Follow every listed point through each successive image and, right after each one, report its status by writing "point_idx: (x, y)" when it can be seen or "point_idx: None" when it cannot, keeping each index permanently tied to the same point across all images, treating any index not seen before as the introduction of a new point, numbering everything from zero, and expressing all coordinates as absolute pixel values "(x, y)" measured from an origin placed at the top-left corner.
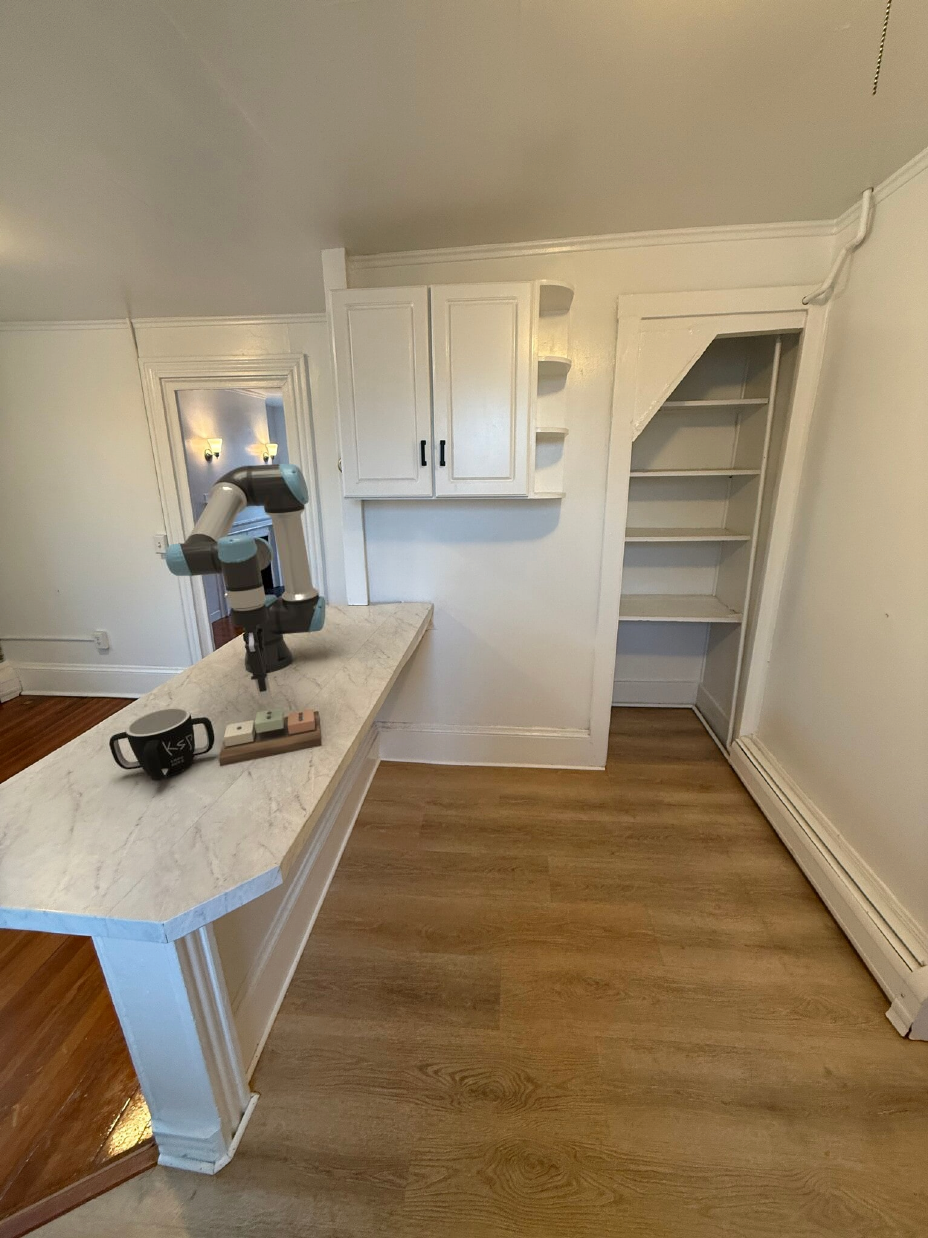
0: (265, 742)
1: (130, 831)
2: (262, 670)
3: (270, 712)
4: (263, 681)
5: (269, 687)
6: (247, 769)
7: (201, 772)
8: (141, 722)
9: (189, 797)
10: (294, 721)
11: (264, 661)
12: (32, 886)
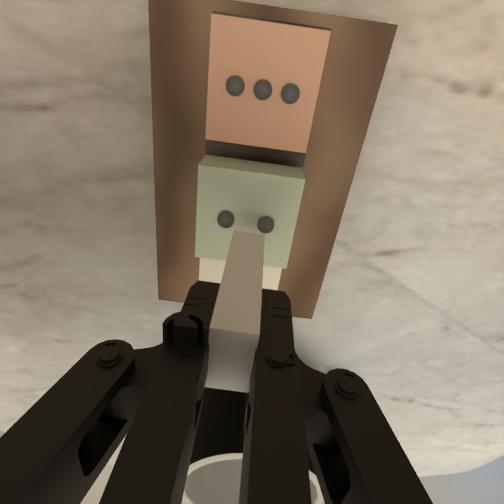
0: (301, 218)
1: (421, 406)
2: (403, 465)
3: (230, 217)
4: (292, 345)
5: (253, 276)
6: (364, 256)
7: (310, 333)
8: (210, 498)
9: (389, 348)
10: (287, 122)
11: (181, 448)
12: (449, 464)
